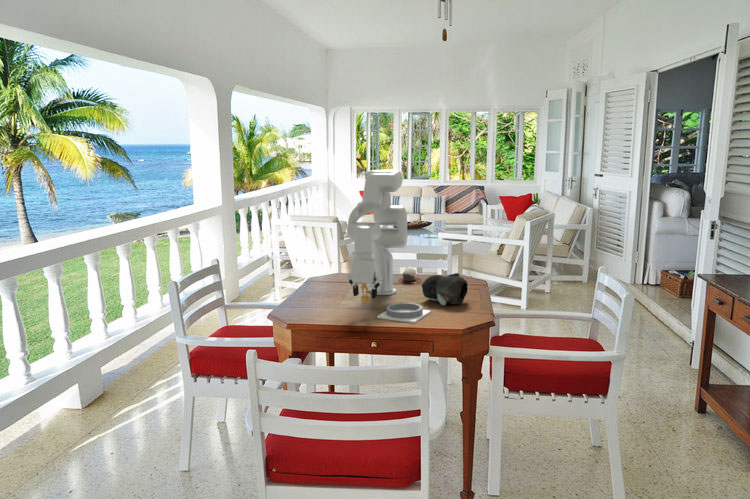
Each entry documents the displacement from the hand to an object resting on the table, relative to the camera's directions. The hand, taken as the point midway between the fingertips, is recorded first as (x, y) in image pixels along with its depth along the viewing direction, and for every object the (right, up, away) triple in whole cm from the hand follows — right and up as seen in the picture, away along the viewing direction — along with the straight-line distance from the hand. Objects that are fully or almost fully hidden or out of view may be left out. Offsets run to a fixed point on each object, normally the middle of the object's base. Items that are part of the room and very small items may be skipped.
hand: (365, 296), depth 238 cm
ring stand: (+17, -8, +2) cm, 19 cm away
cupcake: (+23, +2, +64) cm, 68 cm away
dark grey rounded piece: (+36, -5, +22) cm, 43 cm away
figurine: (0, -4, +1) cm, 4 cm away
